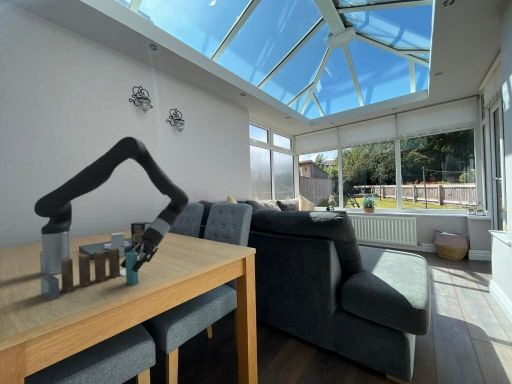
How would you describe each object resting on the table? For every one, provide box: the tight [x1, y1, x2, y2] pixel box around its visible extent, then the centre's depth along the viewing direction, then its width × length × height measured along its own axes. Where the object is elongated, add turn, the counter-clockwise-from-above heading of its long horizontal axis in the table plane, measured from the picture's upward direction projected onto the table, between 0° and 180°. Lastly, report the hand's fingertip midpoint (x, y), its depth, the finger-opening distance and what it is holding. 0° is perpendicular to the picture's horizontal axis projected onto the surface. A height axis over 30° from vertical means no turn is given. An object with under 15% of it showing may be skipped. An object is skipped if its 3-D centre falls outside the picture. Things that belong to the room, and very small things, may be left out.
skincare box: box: [110, 232, 125, 258], centre depth 118 cm, size 6×4×12 cm
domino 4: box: [107, 247, 121, 279], centre depth 89 cm, size 2×5×11 cm, turn 56°
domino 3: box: [93, 250, 107, 283], centre depth 85 cm, size 2×5×11 cm, turn 56°
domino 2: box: [77, 253, 92, 288], centre depth 81 cm, size 2×5×11 cm, turn 56°
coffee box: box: [130, 221, 152, 245], centre depth 130 cm, size 9×6×16 cm
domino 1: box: [61, 257, 75, 294], centre depth 77 cm, size 2×5×11 cm, turn 56°
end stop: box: [40, 274, 60, 301], centre depth 73 cm, size 2×9×6 cm, turn 56°
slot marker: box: [120, 268, 142, 277], centre depth 94 cm, size 7×8×1 cm
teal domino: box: [124, 251, 139, 286], centre depth 82 cm, size 2×5×11 cm, turn 56°
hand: (127, 268), depth 80 cm, fingers open, 8 cm apart
